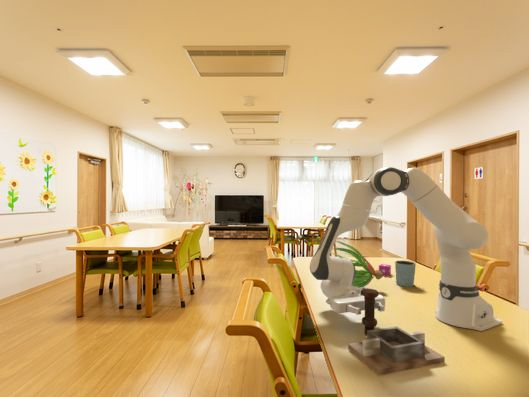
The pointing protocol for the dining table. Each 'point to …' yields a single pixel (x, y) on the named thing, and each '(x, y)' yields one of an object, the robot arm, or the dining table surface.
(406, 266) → the blue gray cup
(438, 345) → the dining table surface
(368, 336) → the square frame on board
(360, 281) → the decorative plant
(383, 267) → the puzzle toy
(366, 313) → the bolt
